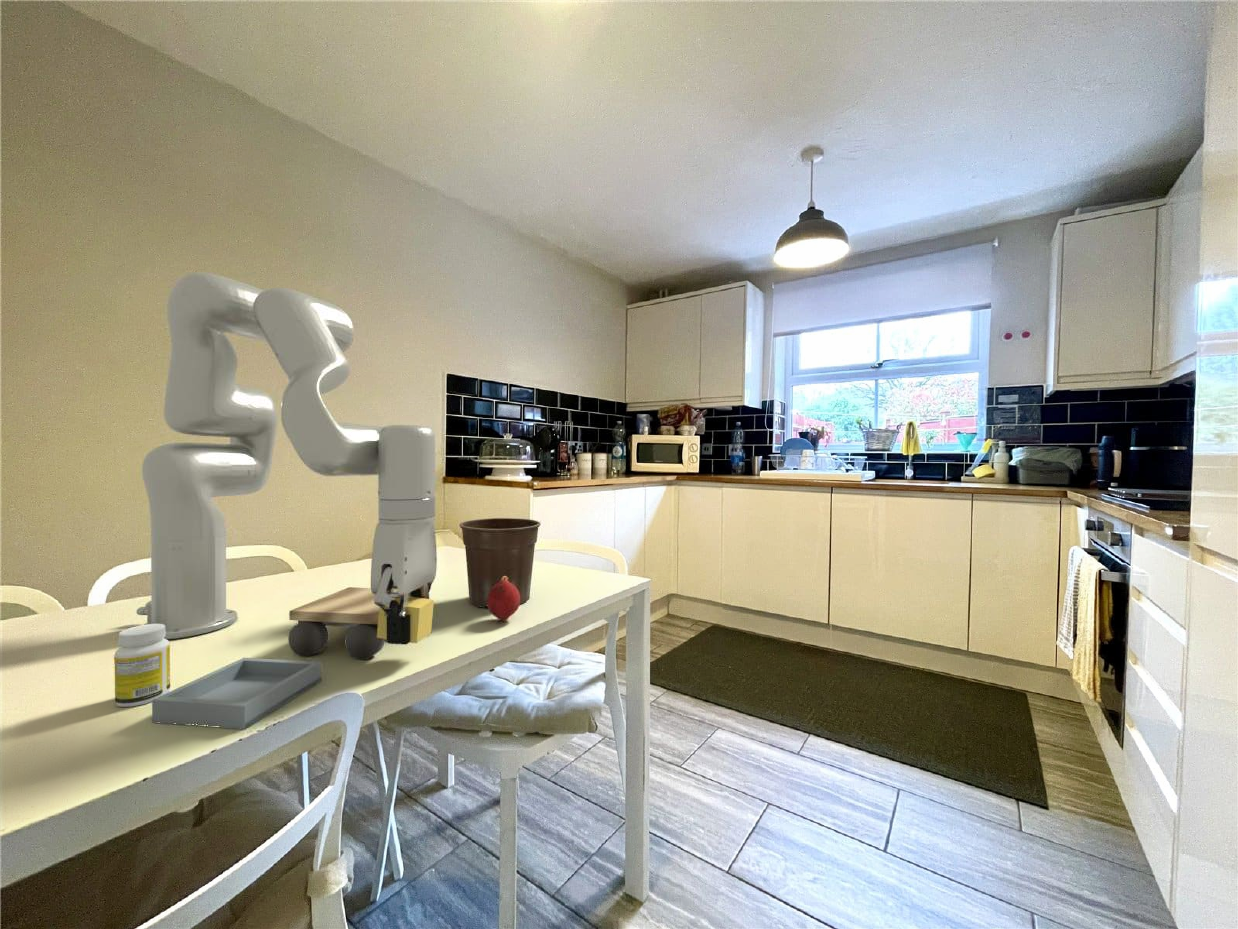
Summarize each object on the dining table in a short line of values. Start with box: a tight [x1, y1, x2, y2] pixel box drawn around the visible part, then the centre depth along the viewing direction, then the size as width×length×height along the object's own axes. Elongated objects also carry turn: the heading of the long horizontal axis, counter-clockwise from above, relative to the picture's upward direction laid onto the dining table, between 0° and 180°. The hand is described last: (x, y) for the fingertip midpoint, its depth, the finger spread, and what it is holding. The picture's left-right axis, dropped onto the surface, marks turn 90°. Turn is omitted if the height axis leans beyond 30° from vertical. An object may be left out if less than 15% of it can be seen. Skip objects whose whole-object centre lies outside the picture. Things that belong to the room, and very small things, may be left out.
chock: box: [377, 597, 435, 644], centre depth 68 cm, size 6×4×5 cm, turn 84°
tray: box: [151, 657, 322, 730], centre depth 57 cm, size 11×11×2 cm
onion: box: [487, 576, 521, 622], centre depth 85 cm, size 6×6×8 cm
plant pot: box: [459, 517, 542, 609], centre depth 98 cm, size 16×16×16 cm
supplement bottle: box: [113, 624, 171, 708], centre depth 57 cm, size 5×5×8 cm
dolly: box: [288, 586, 398, 661], centre depth 75 cm, size 14×13×7 cm
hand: (407, 635), depth 68 cm, fingers closed on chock, 4 cm apart
